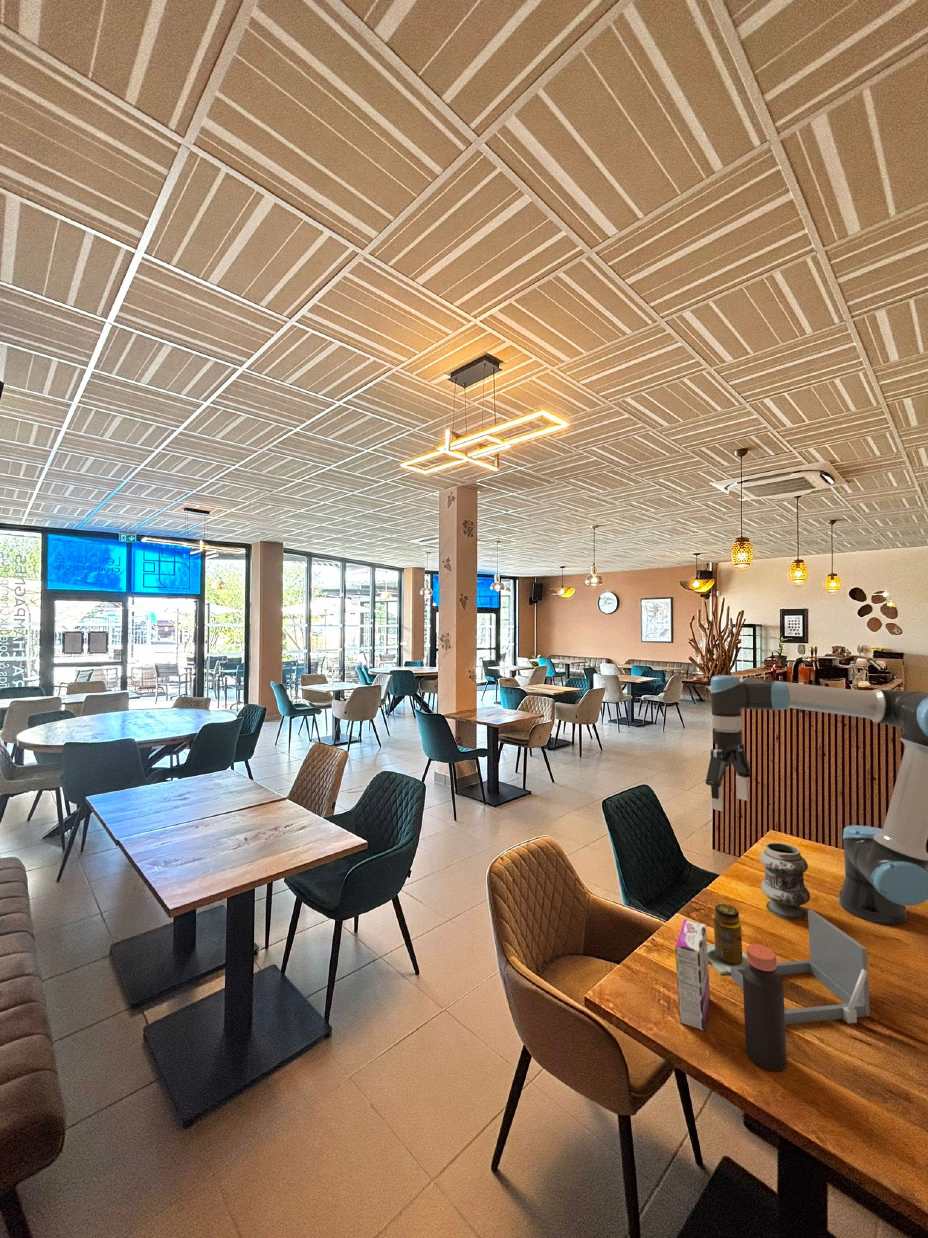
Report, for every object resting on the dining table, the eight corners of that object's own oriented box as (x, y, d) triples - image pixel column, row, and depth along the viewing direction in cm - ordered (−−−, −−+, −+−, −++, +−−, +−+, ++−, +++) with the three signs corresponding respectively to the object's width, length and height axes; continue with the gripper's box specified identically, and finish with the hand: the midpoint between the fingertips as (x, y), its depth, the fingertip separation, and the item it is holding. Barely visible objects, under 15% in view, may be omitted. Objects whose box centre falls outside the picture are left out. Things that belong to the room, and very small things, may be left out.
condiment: (750, 960, 124) (748, 910, 124) (731, 973, 120) (729, 922, 120) (721, 945, 130) (719, 898, 131) (702, 957, 126) (700, 908, 126)
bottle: (772, 1042, 100) (767, 940, 101) (795, 1072, 94) (790, 962, 94) (738, 1044, 100) (734, 941, 101) (759, 1074, 93) (754, 964, 94)
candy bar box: (686, 990, 115) (683, 917, 116) (710, 998, 113) (707, 924, 113) (677, 1023, 106) (674, 944, 106) (704, 1033, 103) (700, 951, 104)
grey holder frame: (814, 969, 121) (811, 909, 122) (875, 1020, 105) (871, 952, 105) (730, 976, 119) (728, 916, 120) (779, 1030, 103) (776, 961, 104)
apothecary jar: (792, 898, 152) (789, 838, 153) (821, 921, 140) (818, 856, 141) (752, 900, 152) (750, 840, 152) (778, 923, 140) (775, 858, 140)
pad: (734, 945, 131) (734, 942, 131) (760, 971, 121) (760, 968, 121) (697, 948, 130) (697, 946, 130) (720, 974, 120) (720, 972, 120)
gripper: (736, 722, 155) (739, 792, 155) (690, 734, 141) (693, 810, 140) (761, 725, 149) (765, 798, 148) (716, 738, 135) (719, 818, 134)
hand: (730, 804), depth 144 cm, fingers open, 13 cm apart
